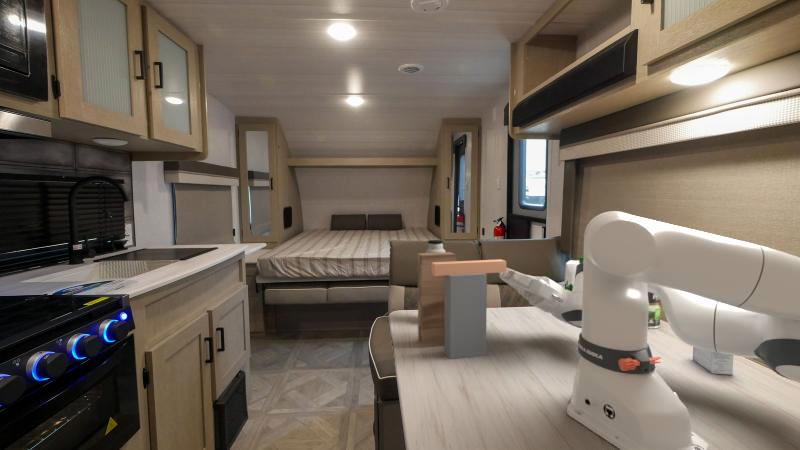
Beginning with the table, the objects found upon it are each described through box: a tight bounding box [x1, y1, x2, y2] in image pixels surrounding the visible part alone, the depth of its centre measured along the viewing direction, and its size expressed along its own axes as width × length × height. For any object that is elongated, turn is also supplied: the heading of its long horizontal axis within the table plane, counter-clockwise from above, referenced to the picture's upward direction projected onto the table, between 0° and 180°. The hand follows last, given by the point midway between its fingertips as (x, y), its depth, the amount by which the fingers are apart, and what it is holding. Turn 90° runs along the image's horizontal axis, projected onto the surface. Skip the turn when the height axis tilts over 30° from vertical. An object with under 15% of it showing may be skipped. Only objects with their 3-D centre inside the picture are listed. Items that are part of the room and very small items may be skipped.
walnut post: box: [417, 251, 458, 348], centre depth 105 cm, size 5×10×26 cm, turn 102°
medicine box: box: [692, 346, 734, 376], centre depth 89 cm, size 8×4×9 cm, turn 168°
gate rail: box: [432, 259, 507, 276], centre depth 97 cm, size 3×20×3 cm, turn 102°
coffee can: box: [648, 292, 662, 330], centre depth 120 cm, size 10×10×14 cm
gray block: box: [443, 273, 488, 360], centre depth 97 cm, size 5×10×22 cm, turn 102°
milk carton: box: [564, 256, 584, 292], centre depth 135 cm, size 9×9×20 cm
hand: (504, 270), depth 100 cm, fingers open, 8 cm apart
